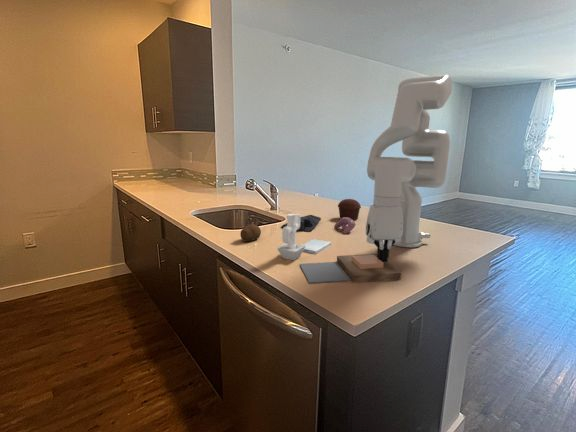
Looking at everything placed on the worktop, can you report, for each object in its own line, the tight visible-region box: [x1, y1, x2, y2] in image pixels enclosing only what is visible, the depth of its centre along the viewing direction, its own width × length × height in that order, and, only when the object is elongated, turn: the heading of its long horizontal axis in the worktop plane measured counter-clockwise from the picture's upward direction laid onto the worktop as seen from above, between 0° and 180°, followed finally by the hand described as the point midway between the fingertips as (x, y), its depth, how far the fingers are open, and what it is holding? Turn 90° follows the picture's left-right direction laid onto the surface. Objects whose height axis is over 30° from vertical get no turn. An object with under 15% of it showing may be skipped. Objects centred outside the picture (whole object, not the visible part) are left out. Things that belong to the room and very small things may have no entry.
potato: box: [240, 223, 262, 242], centre depth 128 cm, size 7×10×6 cm
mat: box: [299, 261, 352, 284], centre depth 96 cm, size 12×14×1 cm
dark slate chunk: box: [280, 214, 322, 233], centre depth 151 cm, size 15×22×5 cm
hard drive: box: [302, 238, 332, 255], centre depth 120 cm, size 2×8×12 cm
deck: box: [336, 253, 402, 283], centre depth 98 cm, size 14×16×2 cm
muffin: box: [337, 198, 362, 221], centre depth 163 cm, size 12×11×10 cm
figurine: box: [276, 213, 305, 261], centre depth 108 cm, size 7×9×15 cm
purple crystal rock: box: [333, 217, 356, 235], centre depth 142 cm, size 10×5×7 cm, turn 22°
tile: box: [352, 254, 384, 269], centre depth 98 cm, size 7×7×2 cm
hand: (382, 260), depth 98 cm, fingers closed
